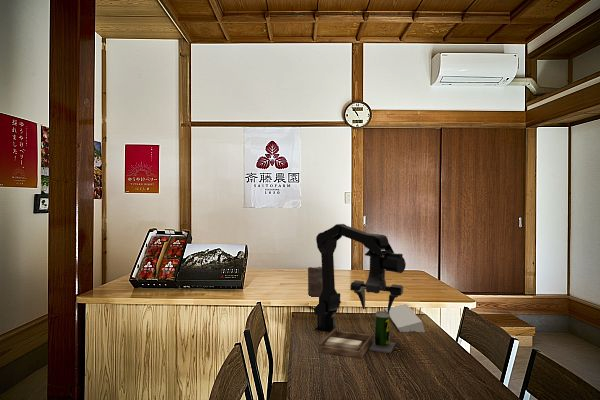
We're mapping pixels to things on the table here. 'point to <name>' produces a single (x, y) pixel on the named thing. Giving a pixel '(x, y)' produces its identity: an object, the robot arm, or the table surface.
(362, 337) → the wooden tray
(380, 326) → the beer can
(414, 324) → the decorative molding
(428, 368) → the table surface
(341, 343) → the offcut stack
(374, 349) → the grey rubber mat
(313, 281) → the dark brown tall block
